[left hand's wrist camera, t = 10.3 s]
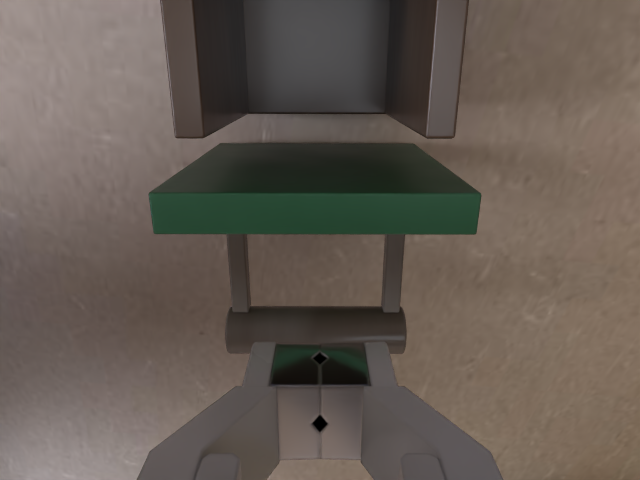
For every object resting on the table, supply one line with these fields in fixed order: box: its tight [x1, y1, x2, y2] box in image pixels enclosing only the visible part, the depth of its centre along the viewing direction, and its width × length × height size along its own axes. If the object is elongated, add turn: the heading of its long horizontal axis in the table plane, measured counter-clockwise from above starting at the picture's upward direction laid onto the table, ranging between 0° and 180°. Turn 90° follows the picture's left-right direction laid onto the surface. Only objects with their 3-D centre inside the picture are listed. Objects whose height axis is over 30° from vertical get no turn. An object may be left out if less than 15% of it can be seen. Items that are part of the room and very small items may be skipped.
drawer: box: [149, 0, 481, 354], centre depth 15 cm, size 20×9×9 cm, turn 0°
